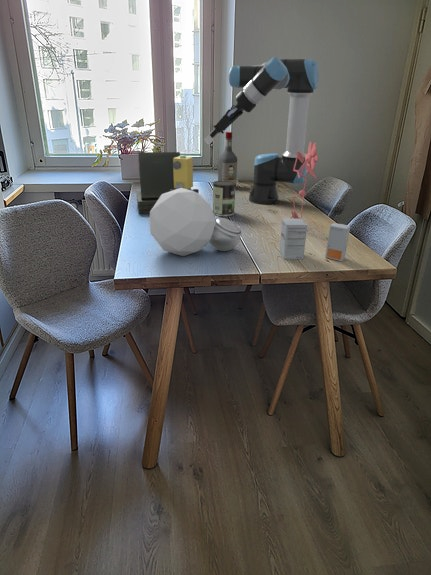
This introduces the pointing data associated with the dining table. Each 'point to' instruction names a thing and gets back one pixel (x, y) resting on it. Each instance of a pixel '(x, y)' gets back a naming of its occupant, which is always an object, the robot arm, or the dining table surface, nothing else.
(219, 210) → the coffee can
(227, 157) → the liquor
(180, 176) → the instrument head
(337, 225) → the skincare box
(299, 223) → the supplement box
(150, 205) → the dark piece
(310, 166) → the figurine
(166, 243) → the lamp
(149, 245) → the dining table surface
